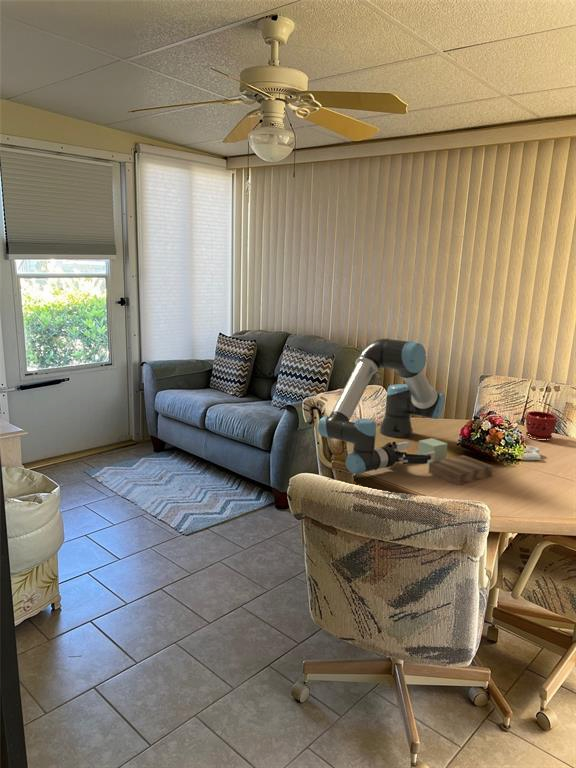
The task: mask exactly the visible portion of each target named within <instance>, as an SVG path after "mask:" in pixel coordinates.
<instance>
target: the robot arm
mask: <svg viewBox="0 0 576 768" xmlns="http://www.w3.org/2000/svg"><path fill="white" fill-rule="evenodd" d="M426 352H427V351H426V348H425V347H424V345H423V344H421V343H420V342H416V341H406V340H405V341H404V340H398V339H392V338H391V339H390V338H379V339H376V340H375V341H373V342H371V343H369V344H368V345H367V346H365V347H364V348H363V349H362V350H361V351H360V353H359V354H358V356H357V357H356V359H355V367H354V369H353V370H352V372H351V374H350V376H349V378H348V380H347V382H346V384H345V386H344V388H343V390H342V391H341V393H340V395H339V397H338V400H337V402H336V403H335V405H334V406H333V409H332V411H331V412H330V414H329V416H327V415H325V416H322V417H321V418H320V419H319V421H318V423H317V432H318V434H319V435H320V436H321V437H326V438H327V439H333V440H338V441H342V442H346V443H350V444H353V446H352V447H353V449H352V452H351V453H349V454H347V457H346V459H345V465H346V469H347V470H348V471H349V472H350V473H352V474H354V475H355V474H356V475H357V474H364V473H368V472H370V471H371V472H372V471H377V470H381V469H387V468H390V467H393V466H394V465H395V464H396V462H397V463H399V462H402V465H412V464H413V465H414V464H415V465H426V464H427V461H428V460H431V459H435V452H429V453H424V454H422V455H417V454H416V453H407V452H404V451H403V450H408V449H409V446H410V442H409V441H404V442H399V443H398V442H397V443H396V441H392V443H391V442H387V443H386V444H384V445H383V446H381V447H377V448H375V444H376V436H377V423H376V421H375V420H374V419H370V418H356V420H355V422H353V421H351V418H352V416H353V415H354V412H355V410H356V409H357V407H358V404H359V403H360V401H361V399H362V397H363V395H364V393H365V391H366V389H367V387H368V385H369V383H370V380H371V379H372V377H373V375H374V374H376V373H377V372H378V371H379V370H380V369H381V368H384V369H389V370H394V371H395V373H396V374H397V376H399V377H400V378H402V379H403V380H404V382H405V383H402V384H401V383H400V384H399V383H398V384H391V385H389V386H388V387H387V389H386V390H387V392H386V396H385V397H386V399H385V401H386V402H385V412H384V413H385V414H384V418H383V419H382V422H381V425H380V426H379V433H380V434H382V435H383V436H387V437H391V438H392V437H393V438H410V437H412V436H413V427H412V421H411V415H415V416H419V417H424V418H429V419H434V420H437V419H439V418H441V416H442V414H443V411H444V407H445V403H446V396H445V394H444V393H441V392H437V390H436V388H435V387H434V386H431V384H430V383H429V381H428V378H427V376H426V372H425V371H424V368H425V366H426V362H427V355H426V354H427V353H426ZM427 465H428V464H427Z"/></svg>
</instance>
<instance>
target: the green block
mask: <svg viewBox="0 0 576 768" xmlns="http://www.w3.org/2000/svg"><path fill="white" fill-rule="evenodd" d="M429 452H435V459H431V460H428V461H427V465H429V463H431V462H435V461H439V460H444V459H447V452H448V442H445V441H441V440H439V439H435V438H432V437H431V438H427V439H421V440H418V445H417V455H422V454H424V453H429Z"/></svg>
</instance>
